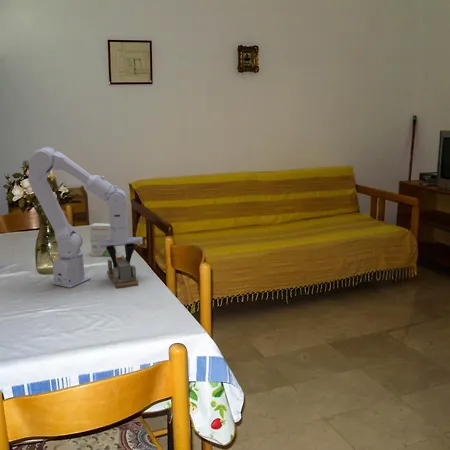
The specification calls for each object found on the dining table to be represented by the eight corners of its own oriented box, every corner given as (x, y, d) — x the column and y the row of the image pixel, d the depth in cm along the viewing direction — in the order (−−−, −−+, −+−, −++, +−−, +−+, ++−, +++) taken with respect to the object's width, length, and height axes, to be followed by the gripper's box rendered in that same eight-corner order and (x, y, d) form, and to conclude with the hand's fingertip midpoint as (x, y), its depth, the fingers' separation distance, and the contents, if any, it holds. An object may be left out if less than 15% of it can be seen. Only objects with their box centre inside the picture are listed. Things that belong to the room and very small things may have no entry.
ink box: (91, 256, 203) (88, 225, 200) (95, 252, 208) (93, 222, 205) (113, 256, 202) (111, 226, 199) (117, 252, 207) (115, 222, 204)
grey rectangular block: (131, 278, 171) (130, 264, 170) (120, 280, 170) (119, 265, 169) (123, 267, 182) (122, 254, 181) (113, 269, 181) (112, 255, 179)
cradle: (138, 285, 171) (137, 268, 169) (116, 288, 168) (115, 271, 167) (127, 270, 185) (126, 255, 184) (107, 273, 183) (106, 258, 181)
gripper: (138, 221, 179) (140, 260, 182) (94, 226, 173) (97, 266, 177) (143, 226, 172) (145, 266, 176) (97, 231, 167) (100, 272, 170)
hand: (121, 266), depth 176 cm, fingers closed on grey rectangular block, 3 cm apart
